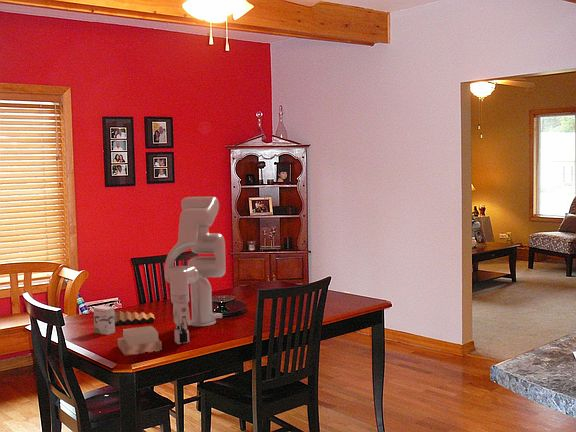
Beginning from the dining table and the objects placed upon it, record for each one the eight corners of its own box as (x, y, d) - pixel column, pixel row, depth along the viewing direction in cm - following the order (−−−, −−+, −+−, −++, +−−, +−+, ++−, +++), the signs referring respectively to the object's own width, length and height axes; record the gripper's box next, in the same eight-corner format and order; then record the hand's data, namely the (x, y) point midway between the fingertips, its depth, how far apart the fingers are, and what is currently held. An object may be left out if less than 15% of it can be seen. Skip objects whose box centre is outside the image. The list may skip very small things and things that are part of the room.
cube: (186, 339, 297) (185, 328, 296) (189, 342, 292) (188, 330, 292) (174, 341, 295) (174, 329, 294) (177, 344, 290) (177, 332, 290)
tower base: (153, 342, 295) (153, 333, 295) (161, 351, 282) (161, 342, 281) (118, 347, 289) (117, 338, 289) (124, 356, 276) (124, 347, 275)
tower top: (152, 334, 293) (151, 325, 292) (158, 341, 282) (158, 332, 282) (123, 338, 288) (122, 329, 288) (129, 345, 277) (128, 336, 277)
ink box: (93, 333, 313) (92, 307, 312) (101, 330, 317) (100, 305, 316) (108, 335, 309) (106, 309, 308) (115, 332, 313) (114, 306, 312)
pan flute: (101, 316, 348) (101, 328, 324) (101, 309, 348) (100, 321, 324) (152, 312, 354) (155, 323, 330) (151, 305, 354) (154, 316, 330)
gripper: (194, 301, 286) (196, 344, 287) (183, 294, 301) (185, 335, 303) (176, 303, 283) (178, 346, 284) (166, 295, 298) (168, 337, 300)
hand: (181, 340), depth 294 cm, fingers closed on cube, 5 cm apart
